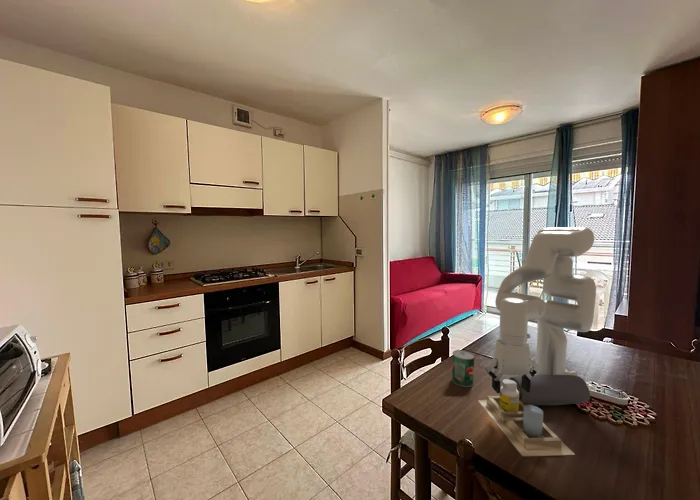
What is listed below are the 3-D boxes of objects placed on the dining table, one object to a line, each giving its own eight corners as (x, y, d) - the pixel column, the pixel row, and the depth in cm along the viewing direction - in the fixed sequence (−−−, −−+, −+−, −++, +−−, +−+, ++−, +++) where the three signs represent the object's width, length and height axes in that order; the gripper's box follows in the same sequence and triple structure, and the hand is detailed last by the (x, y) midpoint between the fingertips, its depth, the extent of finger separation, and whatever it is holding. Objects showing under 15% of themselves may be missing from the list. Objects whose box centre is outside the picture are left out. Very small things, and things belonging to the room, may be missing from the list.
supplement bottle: (495, 406, 94) (496, 378, 93) (511, 406, 94) (512, 377, 93) (505, 417, 88) (506, 387, 87) (522, 416, 88) (523, 386, 88)
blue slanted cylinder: (534, 430, 82) (535, 404, 82) (545, 442, 78) (547, 414, 77) (518, 431, 82) (520, 404, 82) (529, 443, 78) (531, 415, 77)
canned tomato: (475, 388, 107) (476, 359, 106) (453, 385, 108) (454, 357, 107) (471, 377, 114) (471, 350, 114) (450, 375, 116) (451, 349, 115)
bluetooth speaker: (567, 395, 102) (569, 368, 101) (590, 412, 92) (592, 382, 92) (505, 397, 101) (506, 369, 100) (522, 414, 91) (524, 384, 91)
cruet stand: (477, 403, 97) (477, 393, 97) (517, 402, 98) (517, 392, 98) (522, 460, 73) (523, 447, 73) (575, 458, 74) (575, 445, 74)
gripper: (531, 332, 93) (529, 382, 95) (479, 334, 92) (478, 384, 94) (548, 342, 86) (545, 396, 87) (492, 343, 85) (490, 398, 86)
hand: (510, 390), depth 90 cm, fingers open, 9 cm apart
